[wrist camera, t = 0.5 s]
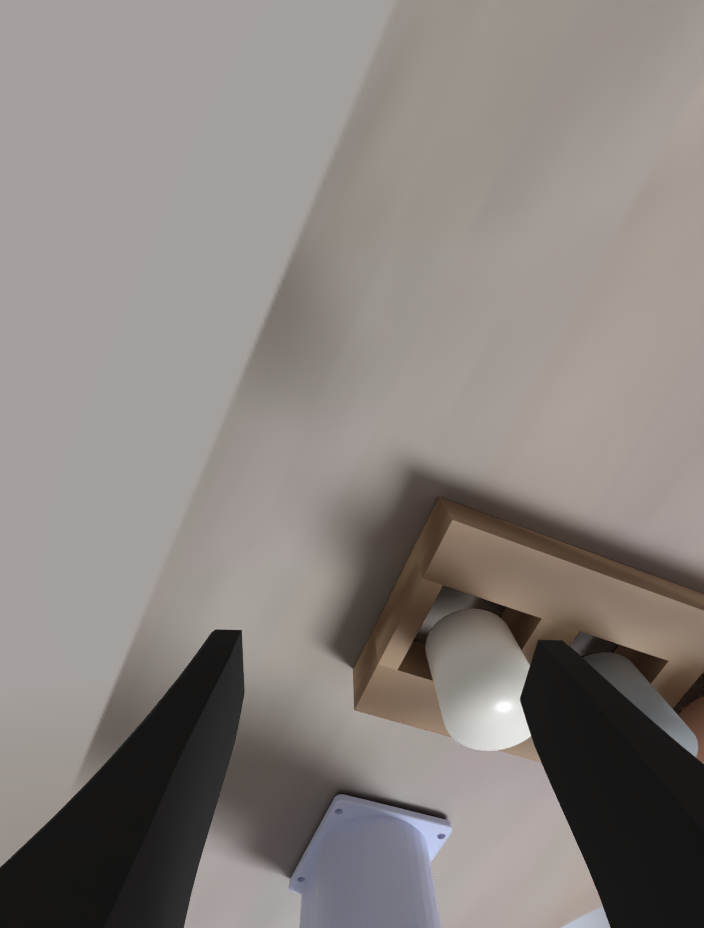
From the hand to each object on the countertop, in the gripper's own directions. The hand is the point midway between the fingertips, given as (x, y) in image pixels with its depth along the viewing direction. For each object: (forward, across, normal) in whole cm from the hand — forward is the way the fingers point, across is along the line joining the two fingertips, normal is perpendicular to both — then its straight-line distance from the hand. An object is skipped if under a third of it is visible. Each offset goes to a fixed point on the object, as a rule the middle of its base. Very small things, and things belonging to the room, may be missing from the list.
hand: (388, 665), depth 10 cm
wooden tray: (+9, -12, +8) cm, 17 cm away
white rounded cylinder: (+7, -5, +6) cm, 11 cm away
